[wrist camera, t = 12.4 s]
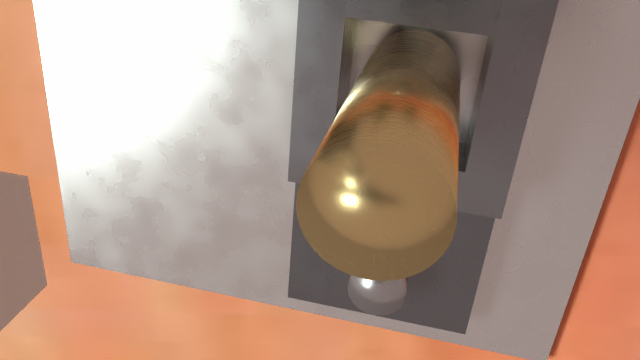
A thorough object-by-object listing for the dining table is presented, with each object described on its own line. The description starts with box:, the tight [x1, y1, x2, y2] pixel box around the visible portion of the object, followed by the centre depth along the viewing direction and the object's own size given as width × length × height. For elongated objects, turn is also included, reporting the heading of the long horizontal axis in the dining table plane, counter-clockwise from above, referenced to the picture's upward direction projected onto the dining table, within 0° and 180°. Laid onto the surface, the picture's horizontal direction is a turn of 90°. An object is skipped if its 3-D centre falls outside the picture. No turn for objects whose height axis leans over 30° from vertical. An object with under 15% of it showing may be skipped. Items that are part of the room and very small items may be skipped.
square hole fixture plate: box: [33, 0, 640, 360], centre depth 24 cm, size 28×27×6 cm
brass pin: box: [296, 29, 460, 281], centre depth 20 cm, size 4×4×12 cm
